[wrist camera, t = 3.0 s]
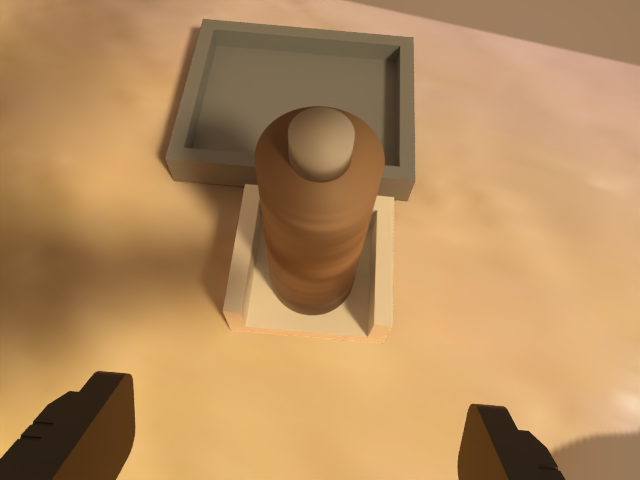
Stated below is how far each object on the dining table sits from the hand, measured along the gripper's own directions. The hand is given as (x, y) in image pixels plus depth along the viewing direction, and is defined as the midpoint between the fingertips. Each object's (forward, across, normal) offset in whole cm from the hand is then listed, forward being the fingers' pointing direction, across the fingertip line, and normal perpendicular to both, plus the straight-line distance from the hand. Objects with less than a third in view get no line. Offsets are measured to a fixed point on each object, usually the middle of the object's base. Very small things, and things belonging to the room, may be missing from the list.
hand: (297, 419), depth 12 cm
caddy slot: (+18, 0, +4) cm, 19 cm away
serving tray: (+28, +2, -5) cm, 28 cm away
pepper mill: (+18, 0, +4) cm, 18 cm away
